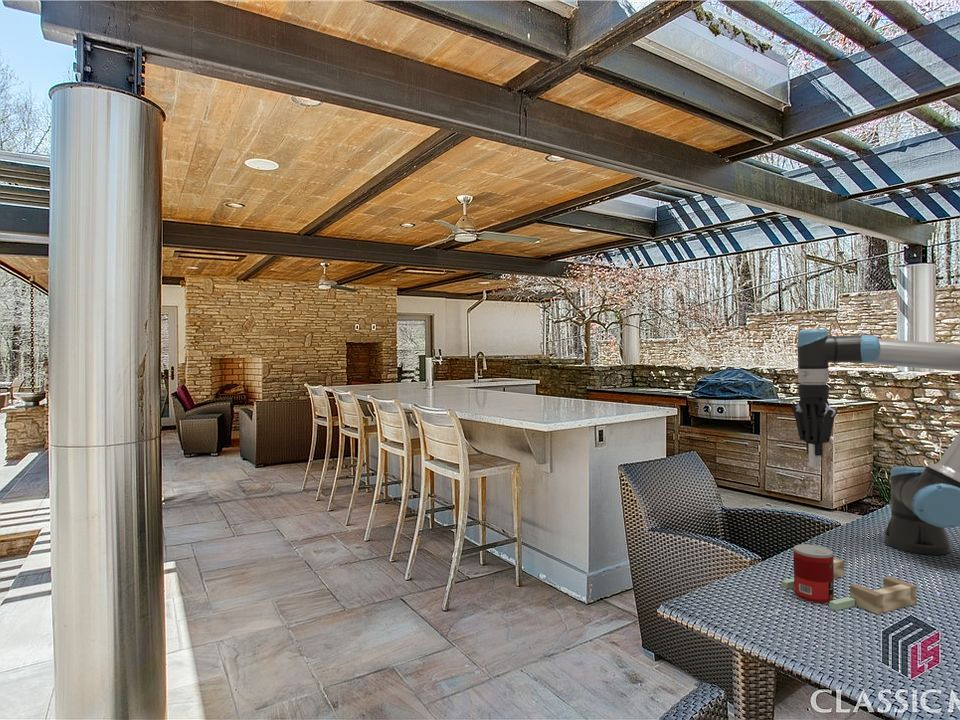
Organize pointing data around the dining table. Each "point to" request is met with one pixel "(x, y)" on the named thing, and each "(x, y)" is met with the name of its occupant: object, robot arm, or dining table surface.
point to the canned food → (813, 573)
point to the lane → (880, 593)
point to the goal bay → (833, 604)
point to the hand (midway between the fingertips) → (814, 466)
